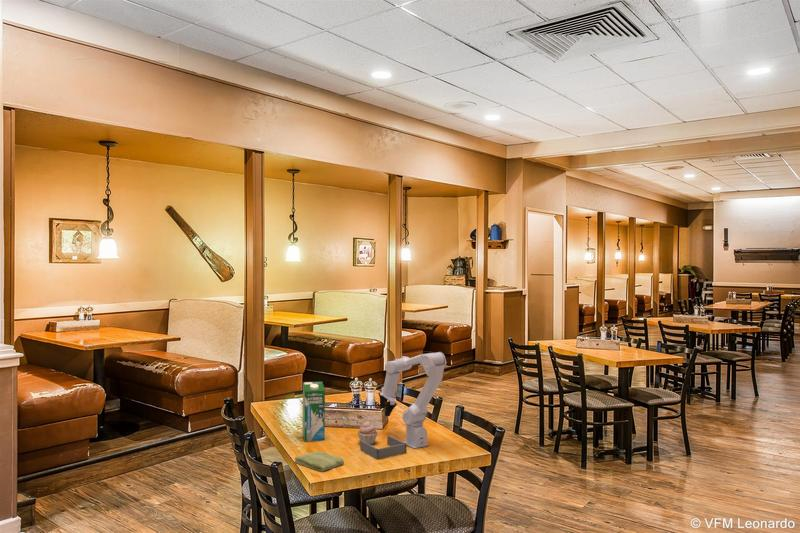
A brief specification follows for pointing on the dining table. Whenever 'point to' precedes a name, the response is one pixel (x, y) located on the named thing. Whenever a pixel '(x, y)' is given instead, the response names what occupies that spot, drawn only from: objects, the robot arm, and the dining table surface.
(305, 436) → the milk carton
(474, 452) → the dining table surface
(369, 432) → the cupcake
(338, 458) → the washcloth
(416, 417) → the robot arm
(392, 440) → the box
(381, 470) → the dining table surface
